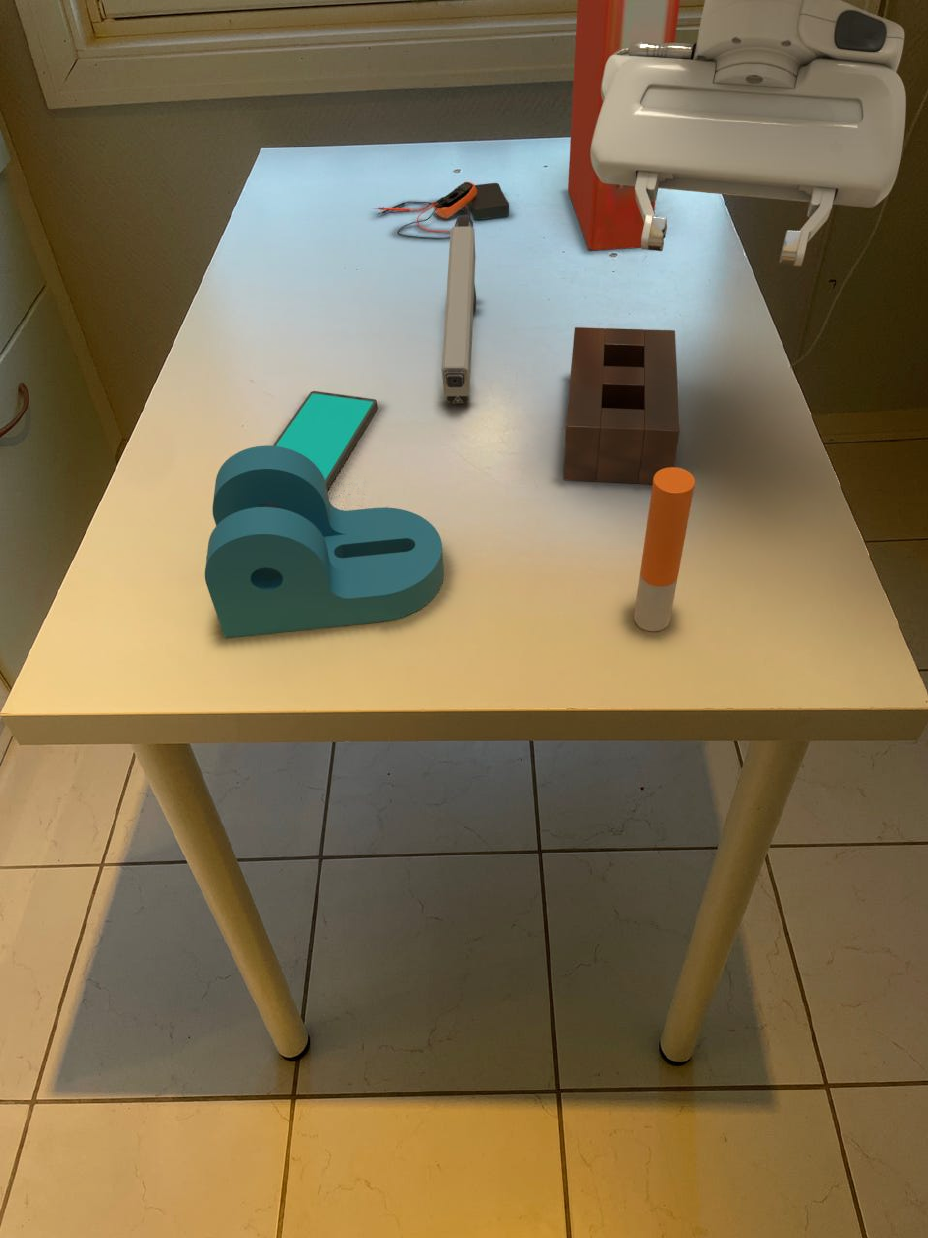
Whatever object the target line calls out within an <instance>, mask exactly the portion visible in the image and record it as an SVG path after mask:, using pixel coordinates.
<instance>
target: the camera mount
mask: <svg viewBox="0 0 928 1238" xmlns="http://www.w3.org/2000/svg"><path fill="white" fill-rule="evenodd" d="M212 517H213V520H214V521H213V522H214V524H215V527H214V528H213V530H212V531H211V533H210V535H209V538H208V544H207V551H206V558H205V569H204V581H205V585H206V588H207V591H208V593H209V596H210V599H211V603H212V605H213V608H214V611H215V613H216V616H217V617H216V618H217V619H218V620H217V621H218V622H219V625H220V628H221V631H222V633H223V637H224V639H231V638H240V637H250V636H258V635H259V636H260V635H268V634H269V635H270V634H276V633H277V634H278V633H286V632H287V633H288V632H297V631H306V630H316V629H324V628H325V629H326V628H334V627H344V626H353V625H363V624H372V623H374V624H375V623H383V622H390V621H395V620H399V619H403V618H405V617H408V616H410V615H412V614H414V613H416V612H418V611H419V610H421V609H422V608H424V607H425V606H427V605H428V604H429V603H430V602H431V601H432V600H433V599H434V598H435V597H436V595H437V594H438V593H439V591H440V589H441V587H442V584H443V581H444V577H445V569H444V568H445V567H444V555H443V554H444V553H443V542H442V538H441V536H440V533H439V532H438V530H437V528H436V527H435V526H434V525H433V524H432V523H431V522H430V521H428V520H427V519H426V518H424V517H423V516H421V515H419V514H417V513H415V512H413V511H409V510H407V509H401V508H396V507H385V506H384V507H383V506H381V507H369V508H359V509H358V508H357V509H349V510H343V509H339V508H337V507H335V506H334V505H333V504H332V503H331V502H330V499H329V493H328V490H327V488H326V483H325V479H324V477H323V475H322V473H321V471H320V470H319V468H318V467H317V466H316V465H315V464H314V463H313V462H312V461H311V460H310V459H308V458H307V457H306V456H304V455H302V454H300V453H298V452H296V451H294V450H291V449H288V448H284V447H279V446H273V445H255V446H251V447H247V448H245V449H242V450H239V451H237V452H236V453H234V454H232V455H230V456H229V457H228V458H227V459H226V461H224V463H222V464H221V467H220V468H219V470H218V471H217V474H216V477H215V484H214V491H213V501H212Z"/></svg>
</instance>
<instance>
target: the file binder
mask: <svg viewBox="0 0 928 1238" xmlns="http://www.w3.org/2000/svg"><path fill="white" fill-rule="evenodd" d="M680 2H681V1H680V0H577V9H576V24H575V26H576V27H575V46H574V47H575V48H574V67H573V85H572V103H571V104H572V105H571V106H572V107H571V122H570V123H571V126H570V143H569V144H570V145H569V162H568V163H569V165H568V166H569V167H568V168H569V169H568V181H567V182H568V183H567V192H568V195H569V198H570V199H571V203H572V206H573V210H574V212H575V215H576V217H577V221H578V223H579V226H580V229H581V233H582V234H583V235H582V236H583V238H584V240H585V243H586V246H587V249H588V250H591V251H602V250H603V251H604V250H620V249H634V248H641V237H642V232H643V227H644V221H643V218H642V215H641V213H640V210H639V207H638V204H637V201H636V194H635V186H630V185H619V184H608V183H603V182H602V181H601V180H600V179H599V177H598V176H597V174H596V172H595V171H594V169H593V166H592V162H591V144H592V139H593V135H594V131H595V127H596V124H597V120H598V117H599V114H600V111H601V108H602V105H603V102H604V101H603V99H602V96H601V84H602V78H603V73H604V68H605V65H606V63H607V61H608V59H609V57H610V56H612V55H613V54H614V53H615V52H616V51H618V50H620V49H622V48H625V47H630V43H631V42H635V41H647V42H650V43H656V44H662V43H664V44H665V43H676V36H677V35H676V34H677V27H678V19H679V9H680ZM624 55H625V56H629V54H624ZM656 201H657V200H656ZM656 201H655V202H650V203H651V205H652V208H653V211H654V212H655V209H656Z"/></svg>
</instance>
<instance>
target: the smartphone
mask: <svg viewBox="0 0 928 1238" xmlns="http://www.w3.org/2000/svg"><path fill="white" fill-rule="evenodd" d="M377 410H378V400H377V399H376V398H370V397H369V398H368V397H363V396H362V397H361V396H356V395H355V396H354V395H347V394H341V393H333V392H326V391H319V390H312V391H310V393H309V394H307V397H306V398H305V399H304V401H303V403H302V404H301V405H300V406H299V408H298V409H297V411H296V412H295V414H294V415H293V417H292V418H291V419H290V421H289V422H288V423H287V425H286V426H285V428H284V429H283V431H282V432H281V434H279V436H278V438H277V439H276V440H275V442H274V443H273V445H272V446H279V447H284V448H288V449H291V450H294V451H296V452H298V453H300V454H302V455H304V456H306V457H307V458H308V459H310V460H311V461H312V462H313V463H314V464H315V465H316V466H317V467H318V468H319V470H320V471H321V473H322V475H323V477H324V479H325V483H326V488H327V491H328V490H329V488H330V487H331V485H332V483H333V482H334V480H335V479H336V477H337V475H338V474H339V472H340V470H341V469H342V467H343V465H344V464H345V462H346V460H347V459H348V457H349V456H350V454H351V453H352V451H353V449H354V447H355V446H356V444H357V442H358V441H359V439H360V438H361V436H362V435H363V433H364V431H365V429H366V428H367V426H368V425H369V423H370V422H371V419H372V418H373V417H374V415H375V413H376V411H377Z"/></svg>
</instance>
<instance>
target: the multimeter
mask: <svg viewBox="0 0 928 1238" xmlns="http://www.w3.org/2000/svg"><path fill="white" fill-rule="evenodd" d="M410 203H413V204H427V205H425V206H423V207H421V208H418V209H412V208H408V207H407V208H405V207H404V208H403V206H405V205H406V204H410ZM430 205H432V206H430ZM428 206H430V207H428ZM468 206H469V207H468ZM427 207H428V208H427ZM464 207H465V208H466V210H467V211H465V210H462V209H463V208H464ZM469 208H470V209H469ZM373 209H376V210H380V211H381V212H379V213H377V214H376V215H381V214H385V213H387V212H390V211H400V212H410V211H421V210H423V211H421V213H420V214H418V216H417V218H416V221H413V222H410V223H406V224H405V225H403V226H402V227H400V228H399V229H398V230H397V232H396V234H397V235H400V236H403V237H407V238H417V239H433V240H442V239H443V240H445V239H450V236H448V237H447V236H446V237H445V236H444V237H433V236H432V237H430V236H429V237H427V236H416V235H407V234H402V233H399V232H400V231H401V230H402V229H404V228H405V227H408V226H410V225H413V224H416V223H417V225H418V226H419V227H420V228H421V229H422V230H425V231H428V232H434V233H435V232H436V233H451V230H433V229H428V228H425V227H422V225H421V224H420V223H423V222H426V221H428V220H429V219H431V218H432V216H433V215H434V213H435V214H436V215H437V216H438V217H440V218H442V219H449V218H451V217H452V216H453V215H455V214H456V213H457V212H462V213H465V214H466V215H469V216H470V217H471V214H470V210H471V213H472V216H473V218H474V219H475V220H482V219H483V220H484V219H491V218H498V217H506V216H507V217H508V216H509V215H510V203H509V201H508V199H507V198H506V196H505V194H504V193H503V190H502V189H501V185H500V184H499V183H498V182H489V183H480V184H475V183H473V182H471V181H464V182H462V183H461V184H459V185H458V186H456V188H454V189H453V190H452V191H451V192H449V193H448V194H447V195H445V196H442V197H440V198H439V199H437V200H436V201H432V202H429V201H406V202H402V203H399V204H397V205H395V206H392V207H384V206H383V207H373ZM424 209H425V210H424ZM430 209H434V210H433V211H432V213H431V214H430V215H429V217H427V218H426V219H422V220H419V218H420V216H421V215H422V214H424V213H426V212H427V211H428V210H430Z"/></svg>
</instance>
